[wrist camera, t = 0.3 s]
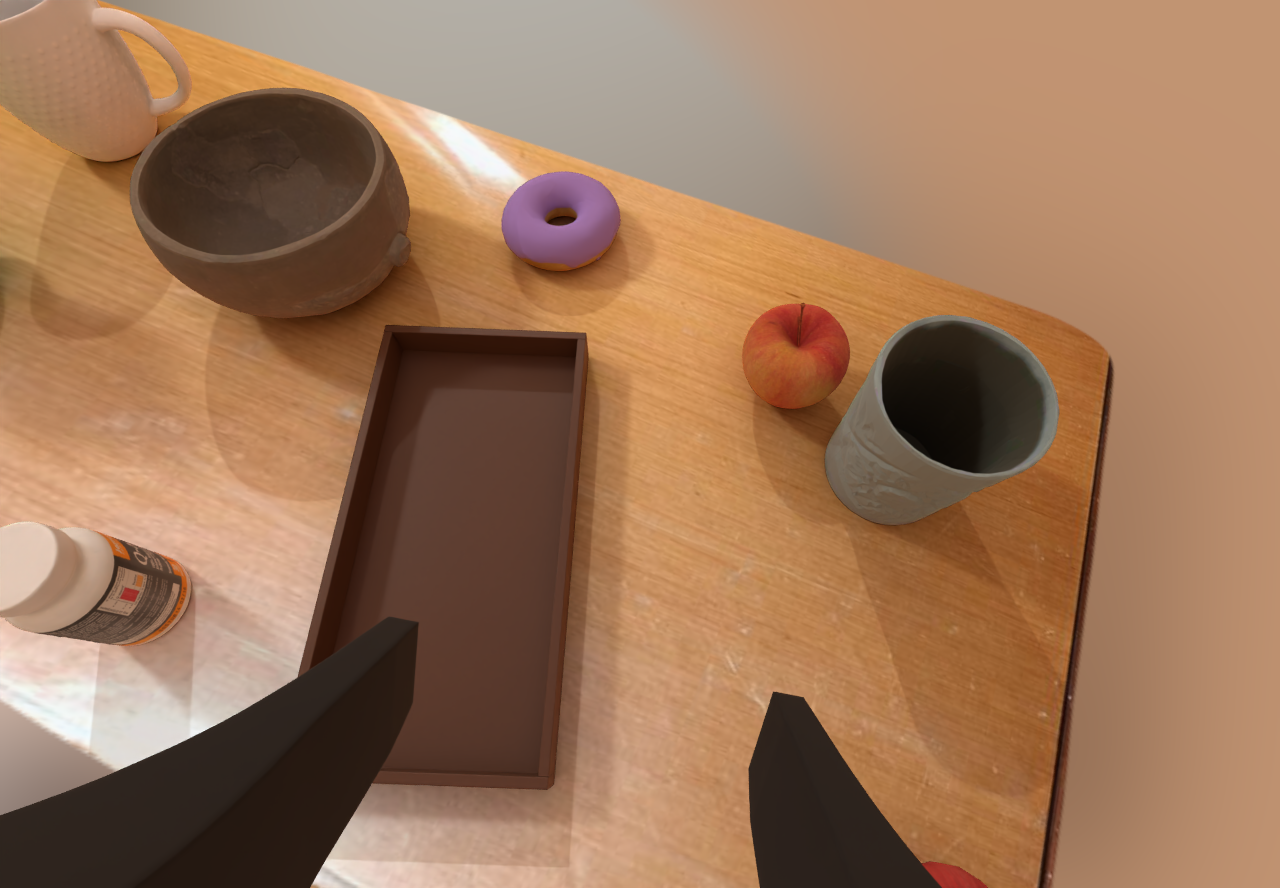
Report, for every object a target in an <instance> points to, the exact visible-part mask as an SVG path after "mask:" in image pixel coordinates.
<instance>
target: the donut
mask: <svg viewBox="0 0 1280 888" xmlns="http://www.w3.org/2000/svg"><path fill="white" fill-rule="evenodd" d="M559 216H570V217H573V218H576V220H575V221H574V222H573V223H570V224H568V225H563V226H554V225H550V224H548V223H547V222H548V221H549V220H551V219H553V218H556V217H559ZM620 221H621V220H620V211H619V207H618V205H617V202H616V200H615V198H614V197H613V195H612V194H611V192H610V191H609V190H608V189H607V188H606V187H605V186H604V185H603V184H602V183H601V182H599V181H597V180H595V179H593V178H591V177H588V176H586V175H583V174H579V173H573V172H554V173H547V174H544V175H540V176H538V177H536V178H533V179H531V180H529V181H527V182H526V183H525V184H523V185H522V186H520V187H519V188H518V189H517V190H516V191H515V192H514V194H513V195H512V196H511V197H510V199H509V200H508V202H507V204H506V206H505V208H504V211H503V216H502V232H503V235H504V238H505V242H506V244H507V245H508V247H509V248H510V249H511V250H512V251H513V252H514V253H515V254H516V255H517V256H518V257H519V258H520V259H522V260H523V261H525V262H526V263H528V264H530V265H533V266H535V267H538V268H541V269H546V270H554V271H564V270H572V269H577V268H580V267H583V266H585V265H587V264H590V263H592V262H593V261H595V260H599V259H600V257H601V256H602V255H603V254H604V253H605V252H606V251H607V250H608V249H609V247H610V246H611V245H612V243H613V241H614V239H615V237H616V234H617V231H618V228H619V226H620Z"/></svg>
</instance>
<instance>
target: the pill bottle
mask: <svg viewBox="0 0 1280 888" xmlns="http://www.w3.org/2000/svg"><path fill="white" fill-rule="evenodd" d="M190 593H191V582H190V578H189V575H188V573H187V572H186V570H185V568H184V567H183V566H182V565H181V564H180V563H178V562H177V561H175V560H173V559H171V558H169V557H167V556H164V555H161V554H158V553H156V552H152V551H149V550H147V549H144V548H141V547H138V546H135V545H133V544H130V543H127V542H125V541H122V540H119V539H116V538H113V537H111V536H108V535H105V534H102V533H99V532H97V531H94V530H91V529H87V528H79V527H68V528H60V529H57V528H54V527H51V526H48V525H45V524H41V523H37V522H17V523H13V524H9V525H6V526H4V527H1V528H0V617H4V618H5V619H6V620H7V621H8V622H9V623H10V624H12V625H13V626H15V627H17V628H19V629H22V630H25V631H29V632H33V633H38V634H46V635H53V636H57V637H67V638H73V639H80V640H86V641H92V642H97V643H106V644H113V645H122V646H135V645H140V644H144V643H147V642H150V641H152V640H155V639H157V638H159V637H160V636H162V635H163V634H165V633H166V632H167V631H169V630H170V629H171V628H172V627H173V626H174V625H175V624H176V623H177V622H178V621H179V619H180V618H181V616H182V615H183V613H184V611H185V609H186V608H187V606H188V603H189V599H190Z"/></svg>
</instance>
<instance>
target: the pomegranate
mask: <svg viewBox="0 0 1280 888" xmlns="http://www.w3.org/2000/svg"><path fill="white" fill-rule="evenodd" d="M922 865H923V866H924V867H925V868H926V870H927V871H928V872H929V873H930V874H931V875H932V877H933V878H934V879H935V880H936V881H937V882H938V883H939V885H940V886H941V887H942V888H988V887H987V886H986V885H985V884H984V883H983V882H981V881H980V880H979V879H977V878H976V877H974V876H972V875H971V874H969V873H968V872H966V871H965V870H963V869H961V868H960V867H957V866H952V865H947V864H942V863H937V862H926V863H922Z"/></svg>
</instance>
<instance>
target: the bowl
mask: <svg viewBox="0 0 1280 888" xmlns="http://www.w3.org/2000/svg"><path fill="white" fill-rule="evenodd" d="M130 204H131V208H132V212H133V215H134V217H135V220H136V223H137V225H138V227H139V229H140V231H141V233H142V235H143V237H144V239H145V241H146V242H147V244H148V246H149V247H150V249H151V250H152V251H153V253H154V254H155V256H156V257H157V258H158V259H159V261H160V262H161V263H162V264H163V266H164V267H165V268H166V269H167V270H168V271H169V272H170V273H171V274H173V275H174V276H175V277H176V278H177V279H179V280H180V281H181V282H182V283H184V284H185V285H186V286H188V287H189V288H191V289H192V290H194V291H196V292H197V293H199V294H201V295H202V296H204V297H206V298H208V299H210V300H212V301H214V302H216V303H218V304H220V305H223V306H226V307H229V308H231V309H234V310H237V311H240V312H244V313H248V314H252V315H257V316H265V317H274V318H294V317H303V316H312V315H324V314H328V313H331V312H333V311H336V310H339V309H341V308H343V307H346V306H348V305H350V304H353V303H354V302H356V301H358V300H359V299H361V298H363V297H364V296H366V295H367V294H369V293H370V292H371V291H372V290H373V289H375V288H376V287H378V286H379V285H380V284H381V283H382V282H383V281H384V279H385V278H386V277H387V276H388V275H389V273H390V271H391V269H392V268H393V267H394V266H397V267H400V266H403V265H404V264H405V263H406V262H407V260H408V258H409V254H410V251H411V242H410V240H409V239H408V238H407V237H406V233H407V228H408V221H409V217H410V209H409V197H408V195H407V191H406V187H405V184H404V180H403V177H402V175H401V173H400V170H399V166H398V164H397V162H396V159H395V158H394V156H393V154H392V152H391V150H390V148H389V147H388V145H387V144H386V142H385V141H384V139H383V138H382V136H381V135H380V133H379V132H378V131H377V129H376V128H375V127H374V126H373V124H372V123H371V122H370V121H369V120H368V119H367V118H366V117H365V116H364V115H363V114H362V113H360V112H359V111H358V110H357V109H355V108H353V107H352V106H350V105H348V104H347V103H345V102H343V101H341V100H338V99H336V98H334V97H331V96H328V95H326V94H323V93H318V92H313V91H309V90H305V89H296V88H269V89H261V90H254V91H249V92H243V93H239V94H235V95H232V96H229V97H226V98H223V99H220V100H217V101H215V102H212V103H209V104H207V105H204V106H202V107H200V108H198V109H196V110H194V111H193V112H191V113H189V114H187V115H186V116H184V117H183V118H181V119H180V120H178V121H177V123H175V124H173V125H171V126H170V127H168V128H166V129H165V130H164V131H163V132H161V133H160V134H159V135H158V136H156V137H155V138H154V139H153V140H152V141H151V142H150V143H149V144H148V145H147V147H146V148H145V149H144V151H143V152H142V154H141V156H140V157H139V159H138V161H137V163H136V165H135V167H134V170H133V173H132V176H131V181H130Z"/></svg>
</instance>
